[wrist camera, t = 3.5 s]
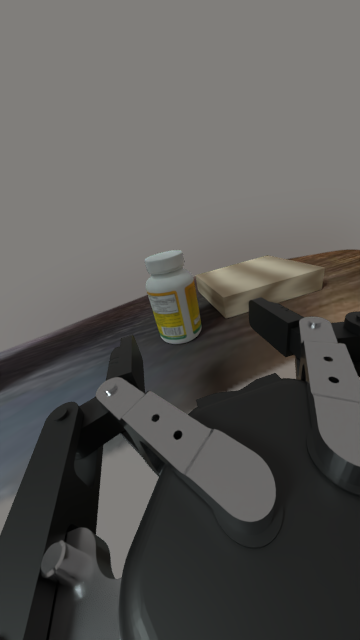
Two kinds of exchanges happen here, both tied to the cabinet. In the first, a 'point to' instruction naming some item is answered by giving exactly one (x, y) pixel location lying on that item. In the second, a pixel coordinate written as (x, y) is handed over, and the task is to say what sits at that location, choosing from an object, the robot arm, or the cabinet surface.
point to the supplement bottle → (173, 297)
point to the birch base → (258, 283)
